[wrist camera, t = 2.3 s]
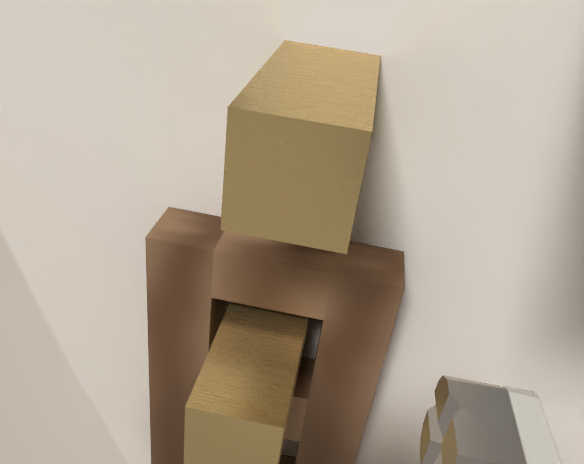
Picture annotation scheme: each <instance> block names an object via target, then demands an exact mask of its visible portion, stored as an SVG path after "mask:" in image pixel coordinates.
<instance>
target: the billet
mask: <svg viewBox="0 0 584 464" xmlns="http://www.w3.org/2000/svg"><path fill="white" fill-rule="evenodd" d="M380 57H381V56H379V55H372V54H366V53H360V52H354V51H348V50H342V49H335V48H329V47H323V46H317V45H311V44H305V43H298V42H292V41H286V40H285V41H284V42H283V43H282V44H281V46H280V47H279V48H278V49H277V50H276V51H275V53H274V54H273V55H272V56H271V57H270V58H269V60H268V61H267V62H266V63H265V64H264V65H263V67H262V68H261V69H260V70H259V71H258V72H257V74H256V75H255V76H254V77H253V78H252V79H251V81H250V82H249V83H248V84H247V85H246V86H245V87H244V89H243V90H242V91H241V92H240V93H239V94H238V96H237V97H236V98H235V99H234V100H233V101H232V103H231V104H230V105H229V106H228V114H227V131H226V148H225V165H224V182H223V198H222V215H221V230H223V231H228V232H233V233H238V234H244V235H249V236H254V237H259V238H264V239H270V240H275V241H280V242H285V243H291V244H296V245H301V246H306V247H311V248H317V249H322V250H327V251H332V252H337V253H343V254H347V251H348V246H349V242H350V237H351V232H352V227H353V222H354V218H355V213H356V208H357V203H358V198H359V194H360V189H361V184H362V179H363V174H364V170H365V165H366V160H367V155H368V150H369V146H370V141H371V136H372V131H373V121H374V112H375V103H376V94H377V85H378V76H379V67H380Z"/></svg>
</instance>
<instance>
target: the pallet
mask: <svg viewBox="0 0 584 464" xmlns="http://www.w3.org/2000/svg"><path fill="white" fill-rule="evenodd" d="M146 273H147V312H148V351H149V390H150V429H151V464H184V430H185V406H186V403H187V401H188V399H189V396H190V394H191V392H192V389H193V387H194V385H195V382H196V380H197V378H198V375H199V373H200V371H201V368H202V366H203V364H204V361H205V359H206V357H207V354H208V352H209V350H210V347H211V345H212V343H213V340H214V338H215V336H216V333H217V331H218V329H219V326H220V324H221V322H222V319H223V317H224V309H225V301H230V302H235V303H240V304H245V305H250V306H255V307H260V308H265V309H270V310H275V311H280V312H285V313H290V314H295V315H300V316H305V317H310V318H314V319H319V320H323V322H322V327H321V332H320V337H319V342H318V347H317V352H316V358H315V360H314V359H310V358H305V357H302V359H301V364H300V368H299V373H298V378H297V383H296V387H295V392H294V397H293V401H292V406H291V411H290V415H289V420H288V425H287V429H286V434H285V439H287V440H292V441H296V442H299V445H298V450H297V455H296V458H294V457H289V456H285V455H281V457H280V462H279V464H354V463H355V459H356V456H357V452H358V449H359V445H360V442H361V438H362V435H363V431H364V428H365V424H366V421H367V417H368V414H369V410H370V407H371V403H372V400H373V396H374V393H375V390H376V386H377V383H378V379H379V376H380V372H381V369H382V365H383V362H384V358H385V355H386V351H387V348H388V344H389V341H390V337H391V334H392V330H393V327H394V323H395V320H396V316H397V313H398V309H399V306H400V302H401V299H402V295H403V292H404V288H405V279H404V252H403V251H397V250H392V249H387V248H381V247H376V246H371V245H366V244H360V243H355V242H349V246H348V251H347V254H343V253H337V252H332V251H327V250H322V249H317V248H311V247H306V246H301V245H296V244H291V243H285V242H280V241H275V240H270V239H264V238H259V237H254V236H249V235H244V234H238V233H233V232H228V231H223V230H221V217H218V216H213V215H208V214H202V213H197V212H192V211H186V210H181V209H176V208H171V207H168V209H167V210H166V211H165V213H164V214H163V215H162V217H161V218H160V219H159V220H158V222H157V223H156V224H155V226H154V227H153V228H152V230H151V231H150V232H149V233H148V235H147V236H146Z"/></svg>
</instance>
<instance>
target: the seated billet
mask: <svg viewBox="0 0 584 464" xmlns="http://www.w3.org/2000/svg"><path fill="white" fill-rule="evenodd" d="M308 322H309V317H305V316H300V315H295V314H290V313H285V312H280V311H275V310H270V309H265V308H260V307H255V306H250V305H245V304H240V303H235V302H230V303H229V305H228V308H227V310H226V312H225V315H224V317H223V319H222V322H221V324H220V326H219V329H218V331H217V333H216V336H215V338H214V340H213V343H212V345H211V347H210V350H209V352H208V354H207V357H206V359H205V361H204V364H203V366H202V368H201V371H200V373H199V375H198V378H197V380H196V382H195V385H194V387H193V389H192V392H191V394H190V396H189V399H188V401H187V403H186V406H185V430H184V464H279V462H280V457H281V453H282V448H283V443H284V439H285V434H286V429H287V425H288V420H289V415H290V411H291V406H292V401H293V397H294V392H295V387H296V383H297V378H298V373H299V368H300V364H301V359H302V354H303V350H304V345H305V339H306V333H307V328H308Z"/></svg>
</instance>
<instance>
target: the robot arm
mask: <svg viewBox="0 0 584 464" xmlns="http://www.w3.org/2000/svg"><path fill="white" fill-rule="evenodd" d="M435 399H436V405H435V406H433V407H431V408H430V409H428V411H427V414H426V417H425V420H424V423H423V428H422V434H421V445H420V456H421V464H561V461H560V458H559V455H558V452H557V449H556V446H555V444H554V441H553V438H552V435H551V432H550V429H549V426H548V423H547V420H546V417H545V414H544V411H543V408H542V405H541V402H540V399H539V397H538V395H537V394H536V393H535V392H533V391H527V390H522V389H516V388H510V387H505V386H503V387H501V386H498V385H492V384H487V383H481V382H476V381H471V380H465V379H460V378H454V377H449V376H444V375H443V376H442V377H441V379H440V380H439V382H438V384H437V387H436V389H435Z"/></svg>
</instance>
